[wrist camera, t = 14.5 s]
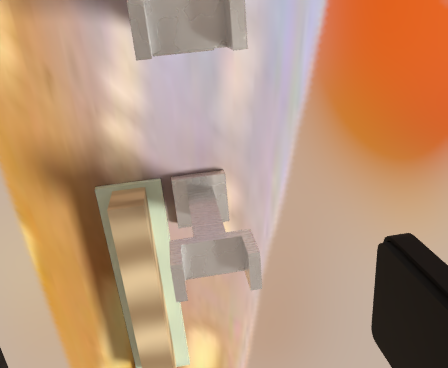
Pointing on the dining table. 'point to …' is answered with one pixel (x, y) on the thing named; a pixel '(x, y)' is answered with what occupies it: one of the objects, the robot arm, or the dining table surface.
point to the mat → (163, 255)
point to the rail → (141, 276)
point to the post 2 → (208, 234)
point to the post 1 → (186, 26)
